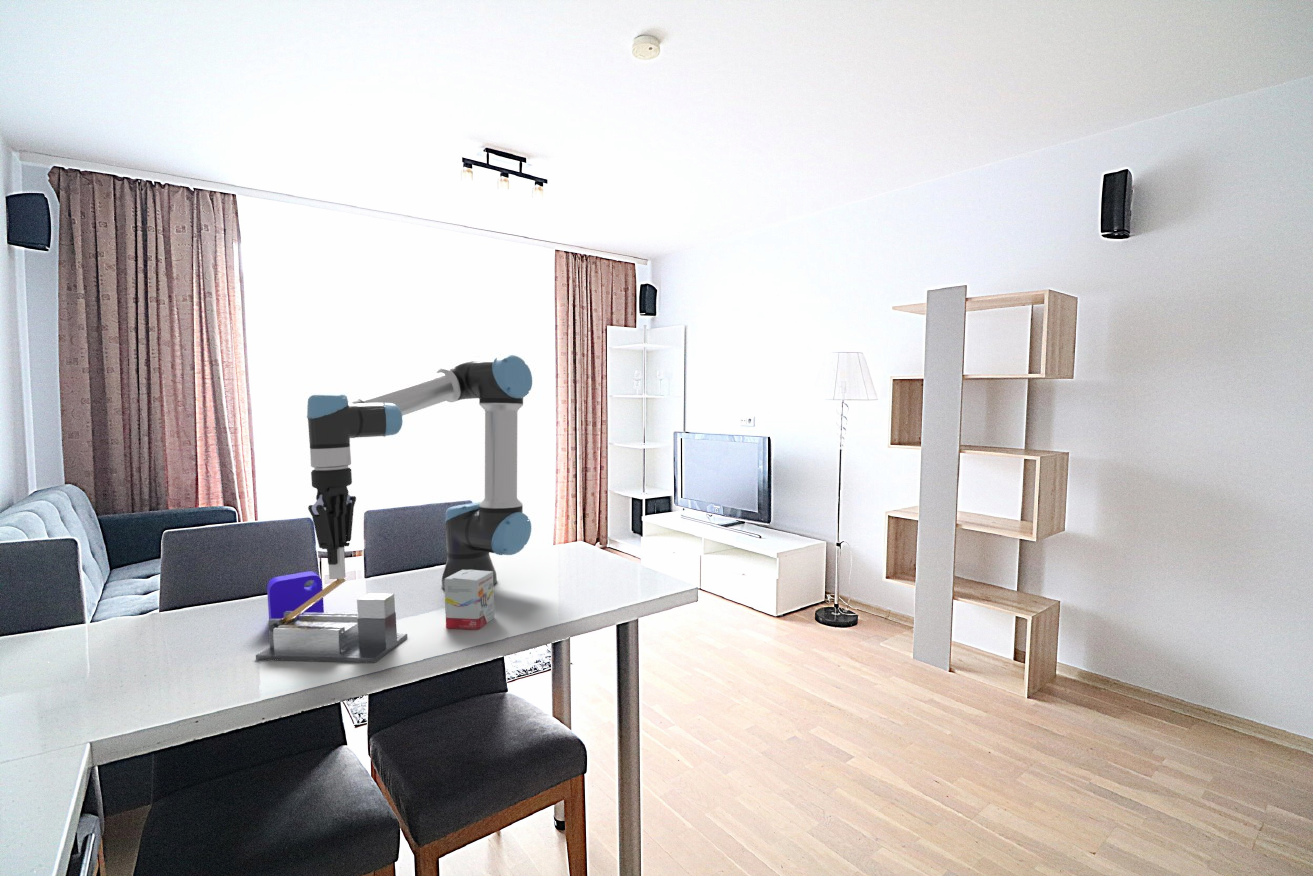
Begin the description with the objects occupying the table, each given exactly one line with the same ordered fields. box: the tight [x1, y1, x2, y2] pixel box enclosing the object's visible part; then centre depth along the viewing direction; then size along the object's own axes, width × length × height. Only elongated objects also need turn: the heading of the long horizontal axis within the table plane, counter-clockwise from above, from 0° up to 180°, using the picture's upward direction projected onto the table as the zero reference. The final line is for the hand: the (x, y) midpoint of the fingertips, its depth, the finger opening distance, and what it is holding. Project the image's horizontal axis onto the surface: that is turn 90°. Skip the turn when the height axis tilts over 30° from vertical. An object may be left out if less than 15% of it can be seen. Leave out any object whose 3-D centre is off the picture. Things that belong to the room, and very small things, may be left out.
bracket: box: [266, 570, 325, 621], centre depth 153 cm, size 18×11×12 cm, turn 38°
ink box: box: [444, 570, 495, 631], centre depth 146 cm, size 9×9×12 cm
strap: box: [282, 578, 346, 625], centre depth 133 cm, size 3×18×2 cm
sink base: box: [255, 611, 408, 664], centre depth 132 cm, size 13×26×7 cm, turn 84°
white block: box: [356, 592, 396, 619], centre depth 131 cm, size 4×6×4 cm, turn 84°
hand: (337, 578), depth 131 cm, fingers closed
